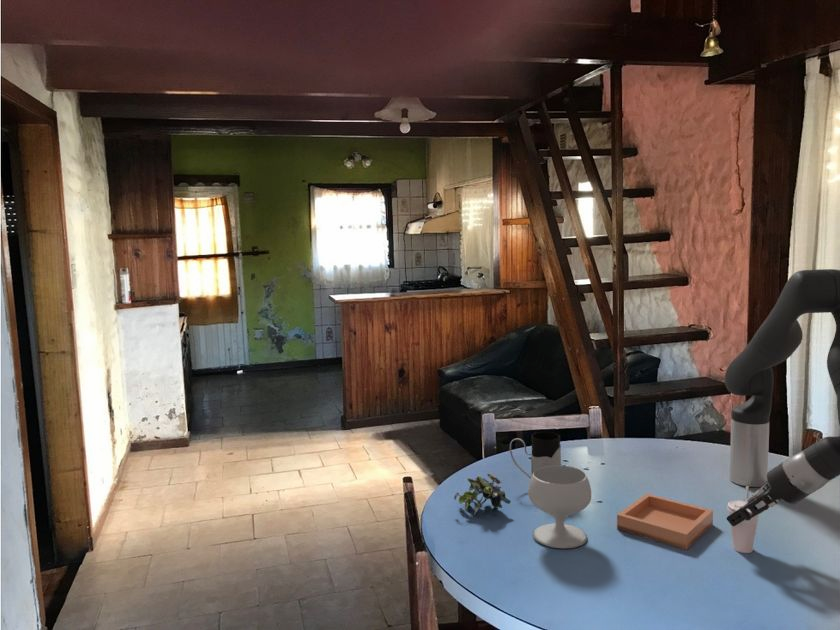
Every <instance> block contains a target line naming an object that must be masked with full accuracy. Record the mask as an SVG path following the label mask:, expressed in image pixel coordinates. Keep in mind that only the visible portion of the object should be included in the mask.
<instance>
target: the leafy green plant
mask: <svg viewBox="0 0 840 630" xmlns="http://www.w3.org/2000/svg"><path fill="white" fill-rule="evenodd" d="M487 477H488V478H489V479H491V480H492V481H491V482H489V481H488V480H487V479H486V478H484V477H481V476H476V477H475V478H474V479H472V478H470V477H469V476H468V477H467V482H469V483H470V486H469V489H468V491H465V492H464V493H463V494H462V495H460V493H459V492H456V493H455V495H454V496H453V500H457V497H458V496H459V499H458V502H459V504H460V505H461V504H463V503H464V504H465V511H466V512H468V509H469V507H470V505H471V503H473V505H474V506H473V508H474V513H473V515H472V517H475V515H476V513H477V512H479V510H480V508H482V507H483V504H485V502H486V501H487V500H490V503H491V506H492V507H493V508H495V509H497V508H501V509H502V508H503V504H502V503H501V502H502V501H503V502H504V503H505V504H507V505H509V504H511V500H510V499H508V498H507V496H506V492H505V491H504V490H501V489H502V487H501V486H498V485H499V484H502V481H501V480H500V479H498V478H497V476H494V475H493V474H490V473H487ZM495 483H496V484H497V485H494V484H495ZM481 494H482V497H481V498H480V500H478V496H479V495H481ZM483 498H484V499H483Z"/></svg>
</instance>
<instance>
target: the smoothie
mask: <svg viewBox="0 0 840 630" xmlns="http://www.w3.org/2000/svg"><path fill="white" fill-rule="evenodd" d="M749 493H750V487H749V486H745V500H739V499H738V500H731V501H729V502H728V503H727V507H726V508H727V510H728V511H729V515H731V514H732V513H734V512H735V511H737V510H738V509H740V507H741V506H744V505H745V504H747V500H748V499H749V498H750V497H749V496H750V494H749ZM746 510H747V511H748V512H749V513H750V514H751V513H752V512H751V511H750V510H749V509H748V508H747V509H746ZM760 515H761V514H758V515H756V516H754V517H753V518H751V519H750V520H748V521H747V520H746V519H745V520H744V521H742V522H741V523H739V524H737V525H736V526H732V525H731V524H730V529H731V538H732V539H731V540H732V547H733V550H735V551H736V552H738V553H743V554H749V553H752V552H753V549H754V544H755V537H756V533H757V527H758V521H759V516H760Z"/></svg>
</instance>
